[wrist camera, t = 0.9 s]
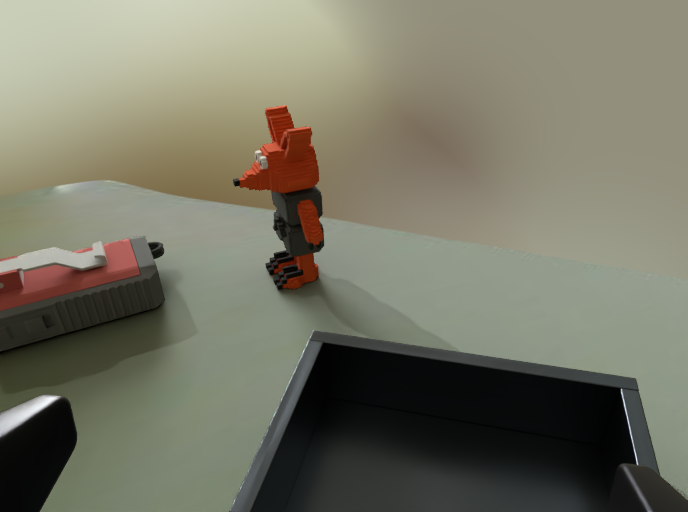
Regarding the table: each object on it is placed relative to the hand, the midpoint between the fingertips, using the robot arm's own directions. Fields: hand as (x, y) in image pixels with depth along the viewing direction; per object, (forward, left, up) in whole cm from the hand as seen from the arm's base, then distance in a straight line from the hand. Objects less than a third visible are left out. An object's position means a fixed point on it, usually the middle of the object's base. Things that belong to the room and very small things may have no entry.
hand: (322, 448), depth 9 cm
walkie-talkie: (+15, +30, -16) cm, 37 cm away
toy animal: (+25, +15, -16) cm, 33 cm away
